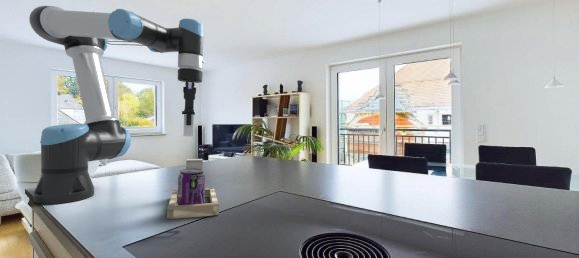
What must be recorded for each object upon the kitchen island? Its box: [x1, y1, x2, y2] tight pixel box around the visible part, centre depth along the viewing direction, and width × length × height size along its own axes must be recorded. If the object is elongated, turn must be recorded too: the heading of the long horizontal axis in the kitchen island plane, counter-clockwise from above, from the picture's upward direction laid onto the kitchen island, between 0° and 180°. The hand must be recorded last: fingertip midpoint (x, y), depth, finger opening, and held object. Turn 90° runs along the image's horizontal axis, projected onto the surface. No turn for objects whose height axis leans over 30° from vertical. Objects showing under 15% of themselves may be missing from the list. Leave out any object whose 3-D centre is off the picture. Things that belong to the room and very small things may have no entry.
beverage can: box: [177, 168, 206, 205], centre depth 78 cm, size 7×7×12 cm
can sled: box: [166, 158, 220, 220], centre depth 83 cm, size 21×13×12 cm, turn 19°
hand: (188, 134), depth 90 cm, fingers open, 13 cm apart
